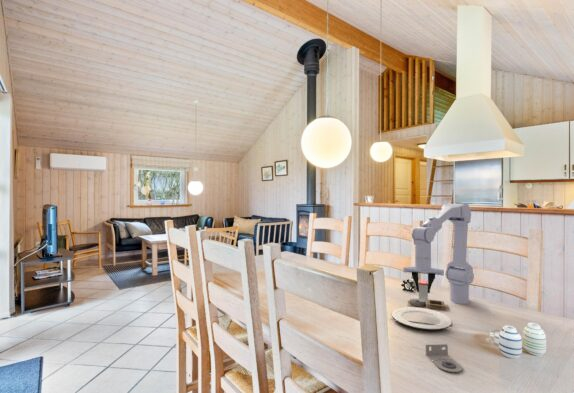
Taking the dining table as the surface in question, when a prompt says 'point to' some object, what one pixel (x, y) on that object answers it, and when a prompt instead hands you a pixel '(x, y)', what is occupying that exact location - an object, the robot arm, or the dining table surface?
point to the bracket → (444, 363)
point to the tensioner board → (428, 304)
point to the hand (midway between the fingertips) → (423, 291)
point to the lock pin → (423, 291)
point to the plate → (398, 317)
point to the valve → (410, 284)
